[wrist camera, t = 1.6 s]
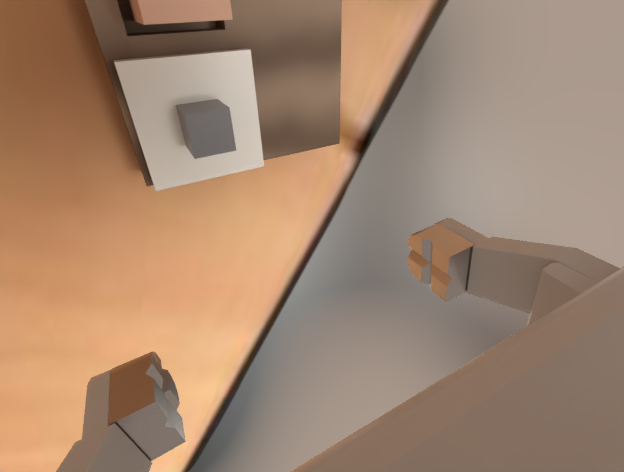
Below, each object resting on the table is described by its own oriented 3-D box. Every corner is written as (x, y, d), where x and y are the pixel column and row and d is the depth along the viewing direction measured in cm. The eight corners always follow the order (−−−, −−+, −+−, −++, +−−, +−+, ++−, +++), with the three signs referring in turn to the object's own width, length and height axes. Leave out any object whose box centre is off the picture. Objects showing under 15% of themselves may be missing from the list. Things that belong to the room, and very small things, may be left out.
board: (44, -121, 20) (37, -141, 17) (318, -99, 26) (343, -110, 24) (142, 170, 30) (146, 186, 27) (322, 133, 37) (339, 143, 34)
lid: (113, 60, 22) (116, 68, 19) (246, 48, 26) (266, 53, 23) (154, 186, 27) (161, 207, 24) (260, 162, 31) (277, 178, 28)
